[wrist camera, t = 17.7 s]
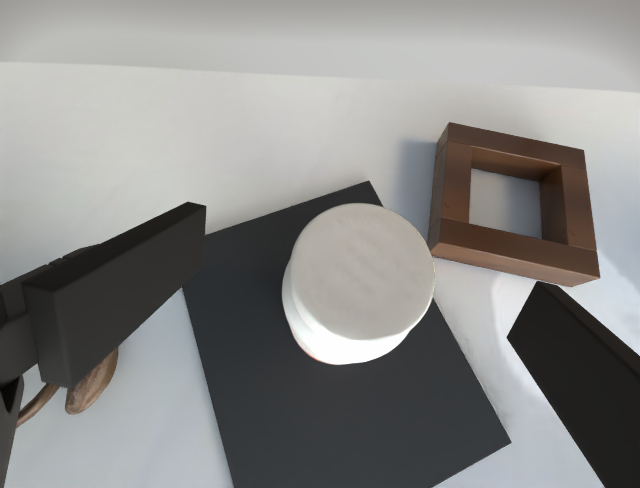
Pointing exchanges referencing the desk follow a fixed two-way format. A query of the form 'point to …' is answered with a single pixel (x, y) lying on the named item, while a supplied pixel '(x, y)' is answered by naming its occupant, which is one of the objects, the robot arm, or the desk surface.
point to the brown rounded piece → (75, 390)
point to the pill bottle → (356, 283)
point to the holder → (504, 247)
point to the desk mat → (326, 377)
